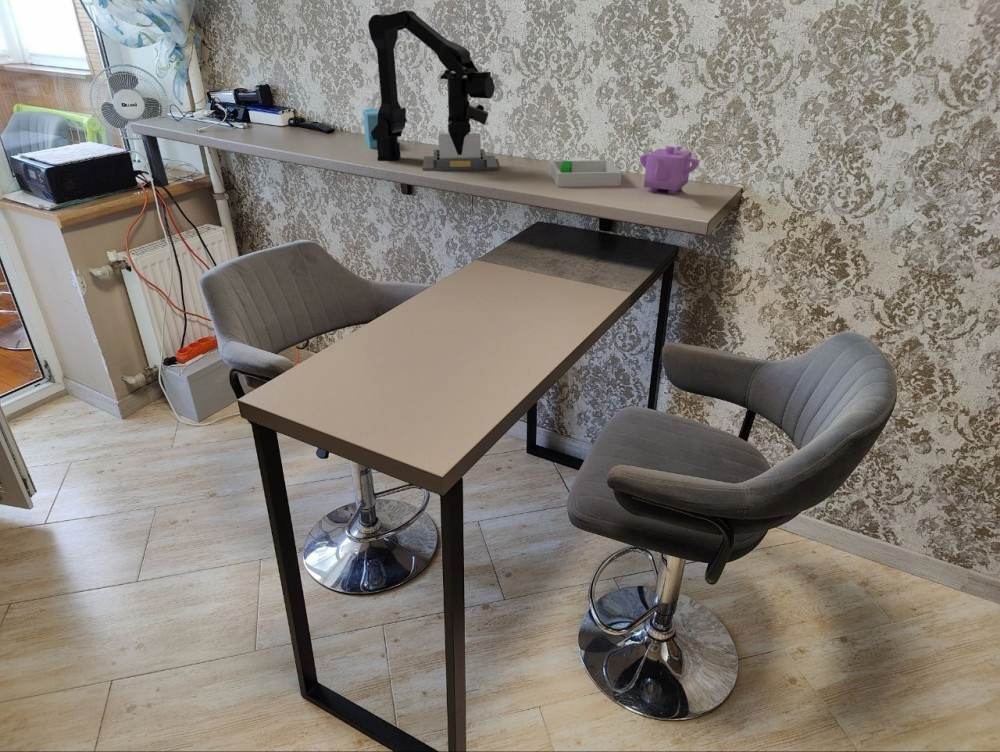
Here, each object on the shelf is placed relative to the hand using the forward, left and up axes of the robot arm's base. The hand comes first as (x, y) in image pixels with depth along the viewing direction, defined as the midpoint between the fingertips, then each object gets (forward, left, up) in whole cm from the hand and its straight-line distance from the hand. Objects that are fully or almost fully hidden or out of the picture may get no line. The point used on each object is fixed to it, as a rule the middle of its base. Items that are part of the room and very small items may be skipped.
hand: (459, 153), depth 202 cm
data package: (-28, +35, -4) cm, 45 cm away
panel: (0, 0, -2) cm, 2 cm away
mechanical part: (+26, -22, -7) cm, 35 cm away
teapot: (+53, -31, -4) cm, 62 cm away
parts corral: (+34, -17, -4) cm, 38 cm away
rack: (0, +5, -4) cm, 7 cm away
